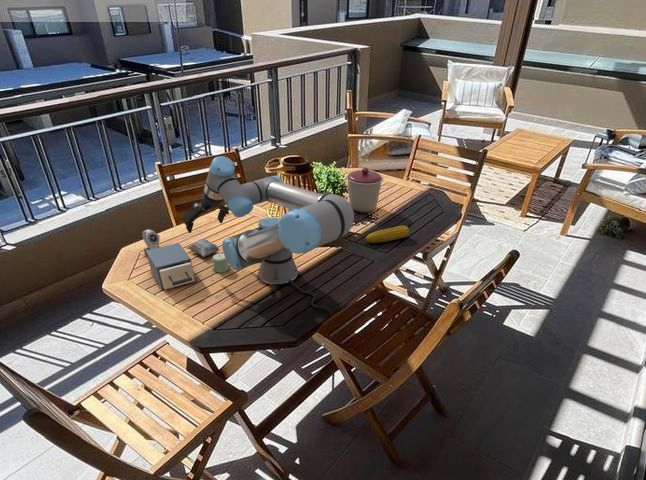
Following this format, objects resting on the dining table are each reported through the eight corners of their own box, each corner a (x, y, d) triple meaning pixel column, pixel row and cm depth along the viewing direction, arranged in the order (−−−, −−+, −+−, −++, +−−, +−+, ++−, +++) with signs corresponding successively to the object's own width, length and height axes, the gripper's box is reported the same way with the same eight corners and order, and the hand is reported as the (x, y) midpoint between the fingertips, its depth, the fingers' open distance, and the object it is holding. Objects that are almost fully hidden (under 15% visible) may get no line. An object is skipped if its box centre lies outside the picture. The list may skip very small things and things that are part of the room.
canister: (381, 216, 222) (385, 174, 209) (345, 215, 222) (346, 173, 209) (379, 202, 237) (382, 162, 224) (345, 201, 236) (346, 161, 224)
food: (403, 234, 207) (405, 222, 204) (409, 239, 203) (411, 227, 200) (363, 242, 200) (364, 229, 196) (369, 247, 196) (369, 235, 192)
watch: (153, 260, 182) (147, 236, 176) (143, 254, 186) (136, 230, 180) (166, 255, 186) (160, 231, 179) (155, 249, 190) (149, 225, 183)
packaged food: (203, 261, 182) (201, 250, 180) (186, 251, 189) (184, 241, 186) (221, 254, 188) (219, 243, 185) (204, 245, 194) (202, 234, 191)
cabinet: (195, 280, 171) (190, 258, 165) (161, 289, 165) (156, 267, 160) (183, 263, 181) (178, 242, 175) (151, 272, 175) (145, 250, 169)
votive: (231, 269, 178) (229, 255, 175) (219, 274, 175) (217, 260, 171) (224, 264, 181) (222, 250, 178) (211, 268, 178) (209, 254, 175)
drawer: (200, 288, 165) (197, 270, 160) (169, 297, 160) (164, 279, 155) (183, 265, 178) (180, 248, 173) (154, 273, 173) (150, 255, 168)
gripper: (239, 176, 165) (227, 209, 182) (176, 191, 151) (169, 226, 168) (249, 192, 164) (236, 224, 182) (187, 209, 150) (179, 242, 168)
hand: (204, 225), depth 175 cm, fingers open, 13 cm apart
